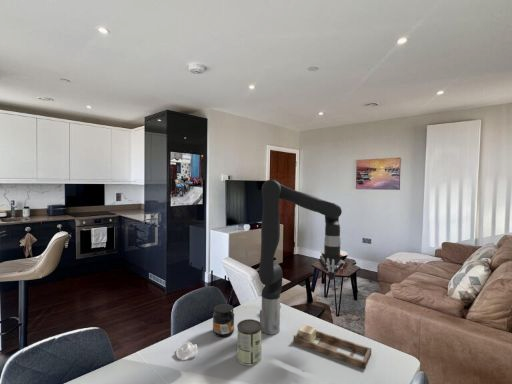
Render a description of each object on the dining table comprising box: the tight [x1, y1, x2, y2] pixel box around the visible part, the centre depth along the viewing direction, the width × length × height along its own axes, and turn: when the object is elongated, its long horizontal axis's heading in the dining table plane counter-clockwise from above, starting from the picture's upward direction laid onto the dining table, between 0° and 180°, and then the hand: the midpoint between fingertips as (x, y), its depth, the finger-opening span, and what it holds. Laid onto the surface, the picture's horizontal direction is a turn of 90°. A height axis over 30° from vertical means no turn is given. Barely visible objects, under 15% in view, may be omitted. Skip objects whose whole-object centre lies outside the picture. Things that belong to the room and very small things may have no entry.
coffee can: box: [236, 318, 262, 367], centre depth 116 cm, size 10×10×14 cm
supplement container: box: [212, 303, 235, 338], centre depth 136 cm, size 10×10×12 cm
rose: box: [175, 341, 198, 361], centre depth 119 cm, size 10×4×10 cm
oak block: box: [298, 324, 317, 343], centre depth 127 cm, size 6×6×5 cm
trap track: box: [292, 329, 372, 370], centre depth 121 cm, size 31×11×5 cm, turn 56°
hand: (331, 279), depth 134 cm, fingers closed
